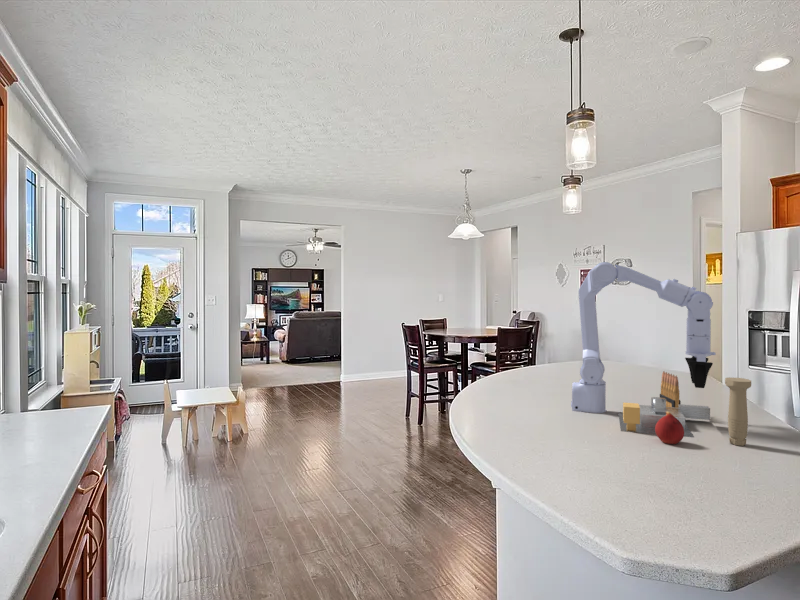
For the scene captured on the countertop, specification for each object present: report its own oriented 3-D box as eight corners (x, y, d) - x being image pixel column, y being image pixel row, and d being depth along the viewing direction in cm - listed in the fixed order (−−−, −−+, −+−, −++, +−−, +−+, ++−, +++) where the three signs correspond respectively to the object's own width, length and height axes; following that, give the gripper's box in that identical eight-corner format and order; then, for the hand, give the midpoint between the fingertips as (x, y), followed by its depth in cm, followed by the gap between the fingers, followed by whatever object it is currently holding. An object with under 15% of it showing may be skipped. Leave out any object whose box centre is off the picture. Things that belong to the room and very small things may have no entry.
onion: (681, 444, 121) (681, 410, 121) (686, 451, 116) (686, 415, 116) (653, 442, 123) (653, 408, 123) (657, 449, 118) (657, 413, 118)
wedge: (623, 431, 130) (623, 406, 129) (623, 425, 135) (623, 402, 135) (639, 432, 128) (639, 407, 128) (638, 427, 133) (638, 403, 133)
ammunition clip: (680, 418, 147) (681, 376, 147) (674, 418, 147) (674, 375, 147) (665, 410, 158) (665, 370, 158) (659, 410, 158) (659, 370, 158)
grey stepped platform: (620, 435, 130) (620, 408, 130) (618, 416, 149) (618, 394, 149) (723, 444, 122) (723, 416, 122) (706, 423, 141) (707, 399, 141)
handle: (745, 441, 124) (745, 378, 124) (754, 449, 118) (754, 382, 118) (722, 439, 125) (722, 377, 125) (729, 447, 119) (729, 381, 119)
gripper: (719, 338, 135) (719, 390, 135) (711, 334, 148) (711, 382, 148) (688, 337, 137) (687, 388, 137) (683, 333, 151) (683, 380, 151)
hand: (698, 385), depth 143 cm, fingers open, 7 cm apart
